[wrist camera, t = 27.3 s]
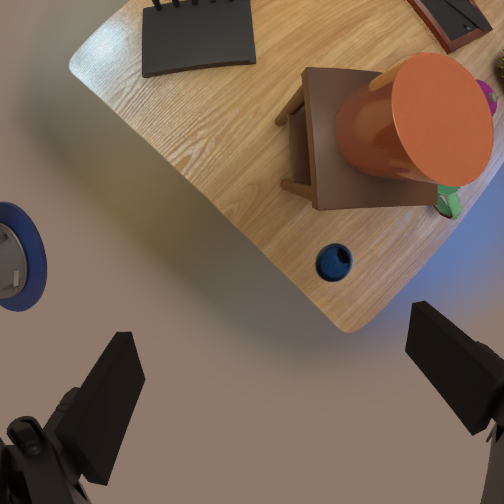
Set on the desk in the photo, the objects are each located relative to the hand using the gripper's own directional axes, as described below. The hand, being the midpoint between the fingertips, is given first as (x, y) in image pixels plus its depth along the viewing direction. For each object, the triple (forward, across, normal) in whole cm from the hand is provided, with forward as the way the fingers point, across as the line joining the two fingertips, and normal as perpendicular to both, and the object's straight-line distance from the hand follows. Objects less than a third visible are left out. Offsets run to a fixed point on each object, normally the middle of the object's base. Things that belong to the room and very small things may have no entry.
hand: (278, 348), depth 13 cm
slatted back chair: (+37, -6, +32) cm, 49 cm away
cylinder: (+13, +11, +10) cm, 20 cm away
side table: (+37, +11, +10) cm, 40 cm away
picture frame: (+37, +43, +47) cm, 74 cm away
